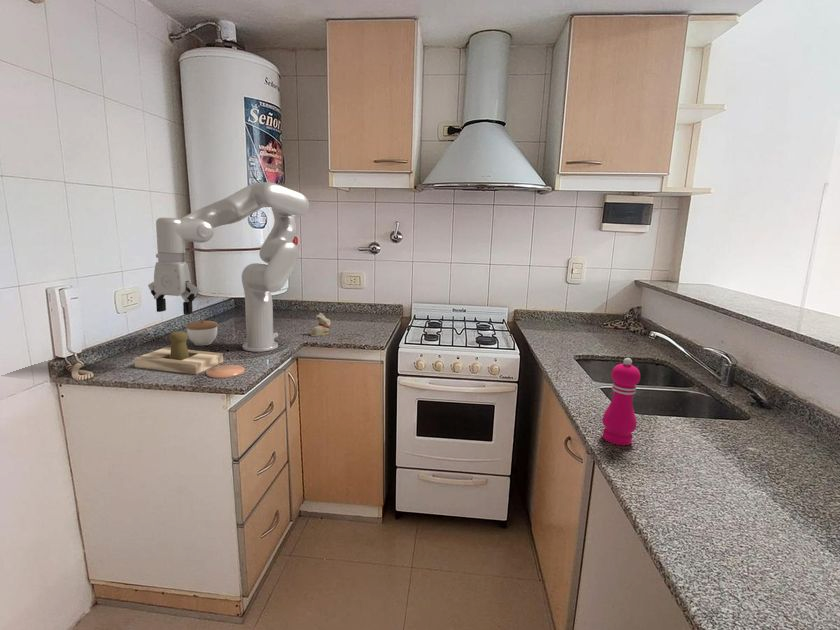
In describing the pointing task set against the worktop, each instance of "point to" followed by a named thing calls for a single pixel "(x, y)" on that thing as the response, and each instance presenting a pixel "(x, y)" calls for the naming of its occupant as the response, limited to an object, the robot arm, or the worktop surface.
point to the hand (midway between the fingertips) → (174, 312)
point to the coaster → (225, 371)
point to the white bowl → (202, 332)
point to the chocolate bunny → (321, 325)
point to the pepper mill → (621, 405)
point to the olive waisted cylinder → (178, 345)
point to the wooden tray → (179, 361)
